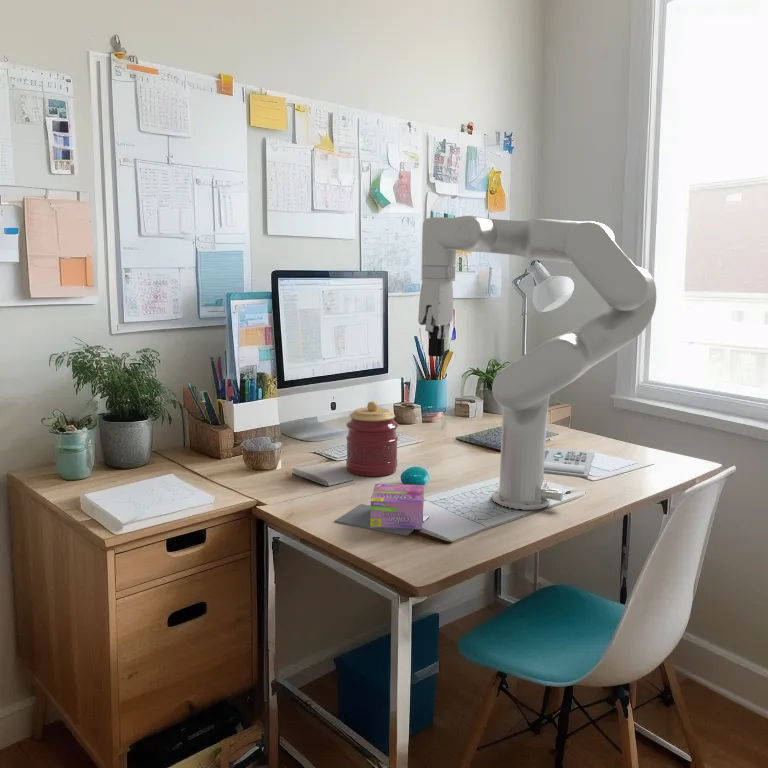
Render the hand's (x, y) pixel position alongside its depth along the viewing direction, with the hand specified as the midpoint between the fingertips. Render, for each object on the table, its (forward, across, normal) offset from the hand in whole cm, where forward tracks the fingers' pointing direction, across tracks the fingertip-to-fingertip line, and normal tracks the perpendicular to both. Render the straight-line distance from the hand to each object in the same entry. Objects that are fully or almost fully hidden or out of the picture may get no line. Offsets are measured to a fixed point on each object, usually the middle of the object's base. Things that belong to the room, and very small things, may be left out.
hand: (436, 355), depth 165 cm
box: (+28, +18, 0) cm, 33 cm away
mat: (+31, +25, -1) cm, 40 cm away
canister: (+31, -6, -19) cm, 37 cm away
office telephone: (+32, -36, +20) cm, 52 cm away
